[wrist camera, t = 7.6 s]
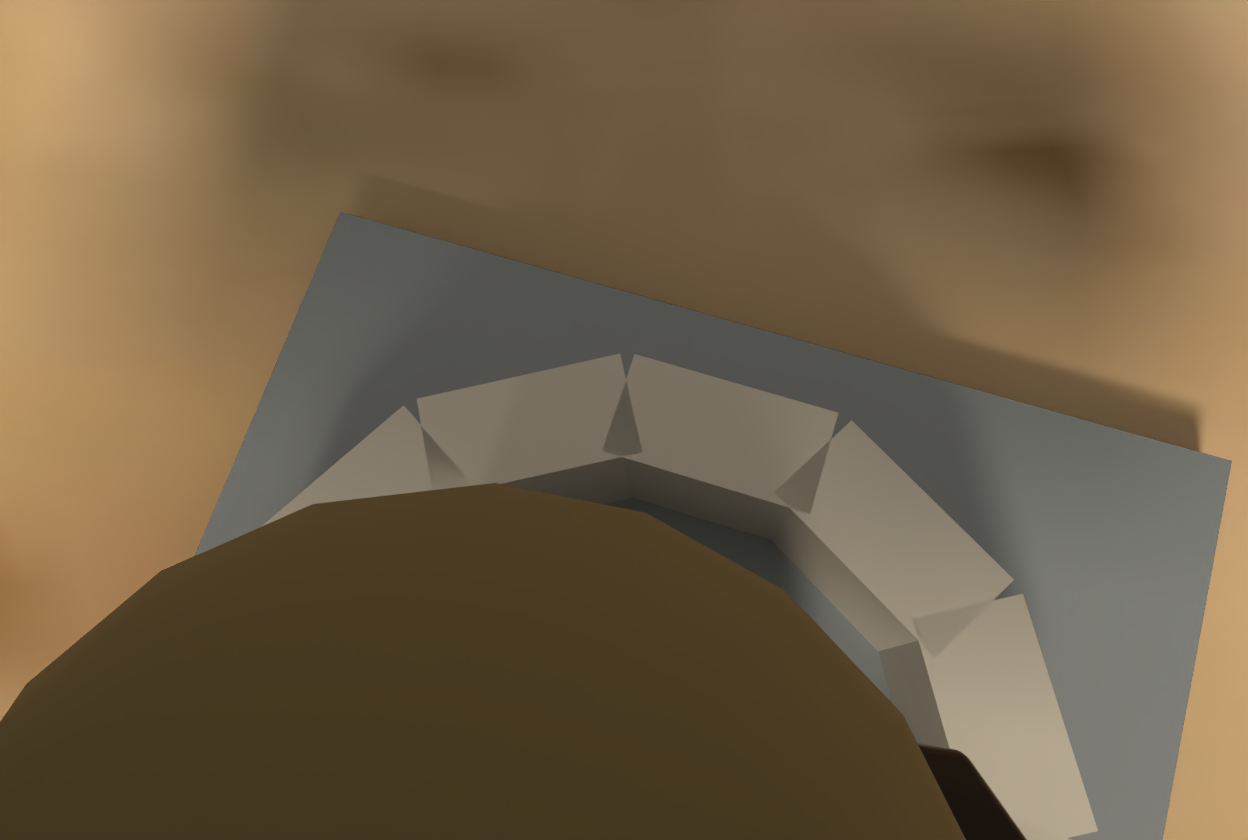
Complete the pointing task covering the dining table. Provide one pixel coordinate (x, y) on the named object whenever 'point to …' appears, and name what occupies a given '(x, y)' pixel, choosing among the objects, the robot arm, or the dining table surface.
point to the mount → (783, 497)
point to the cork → (461, 692)
